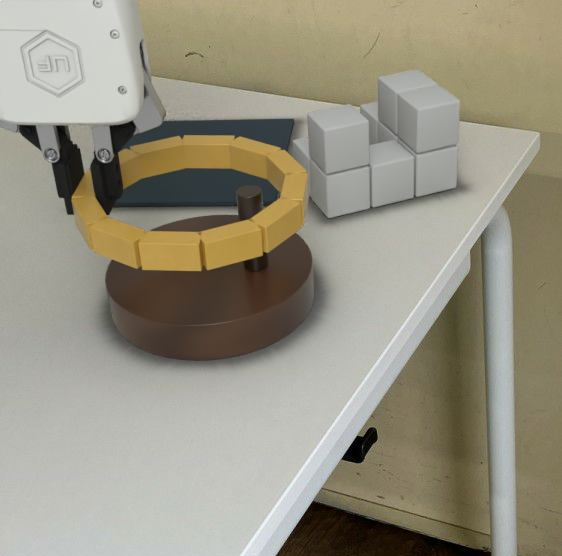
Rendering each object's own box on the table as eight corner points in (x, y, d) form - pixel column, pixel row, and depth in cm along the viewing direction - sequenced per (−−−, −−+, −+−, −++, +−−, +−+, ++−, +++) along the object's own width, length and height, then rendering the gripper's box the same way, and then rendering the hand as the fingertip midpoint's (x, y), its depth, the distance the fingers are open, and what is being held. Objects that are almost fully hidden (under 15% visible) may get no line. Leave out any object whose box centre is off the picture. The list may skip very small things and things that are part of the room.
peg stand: (89, 359, 71) (63, 248, 65) (136, 247, 82) (118, 145, 77) (304, 361, 69) (297, 247, 63) (322, 246, 80) (316, 142, 75)
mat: (83, 206, 89) (82, 202, 88) (127, 125, 102) (126, 121, 102) (274, 205, 86) (274, 201, 86) (294, 122, 100) (293, 118, 99)
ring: (51, 268, 66) (45, 241, 64) (109, 158, 78) (106, 134, 77) (295, 273, 64) (294, 246, 63) (315, 160, 76) (315, 135, 75)
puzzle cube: (397, 135, 96) (398, 53, 91) (457, 188, 87) (461, 100, 82) (279, 162, 93) (272, 78, 88) (327, 219, 84) (324, 130, 79)
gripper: (-106, -48, 58) (-31, 230, 70) (160, -52, 56) (192, 234, 68) (-58, -82, 64) (4, 180, 75) (185, -87, 62) (210, 182, 74)
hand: (93, 204), depth 72 cm, fingers closed on ring, 1 cm apart
